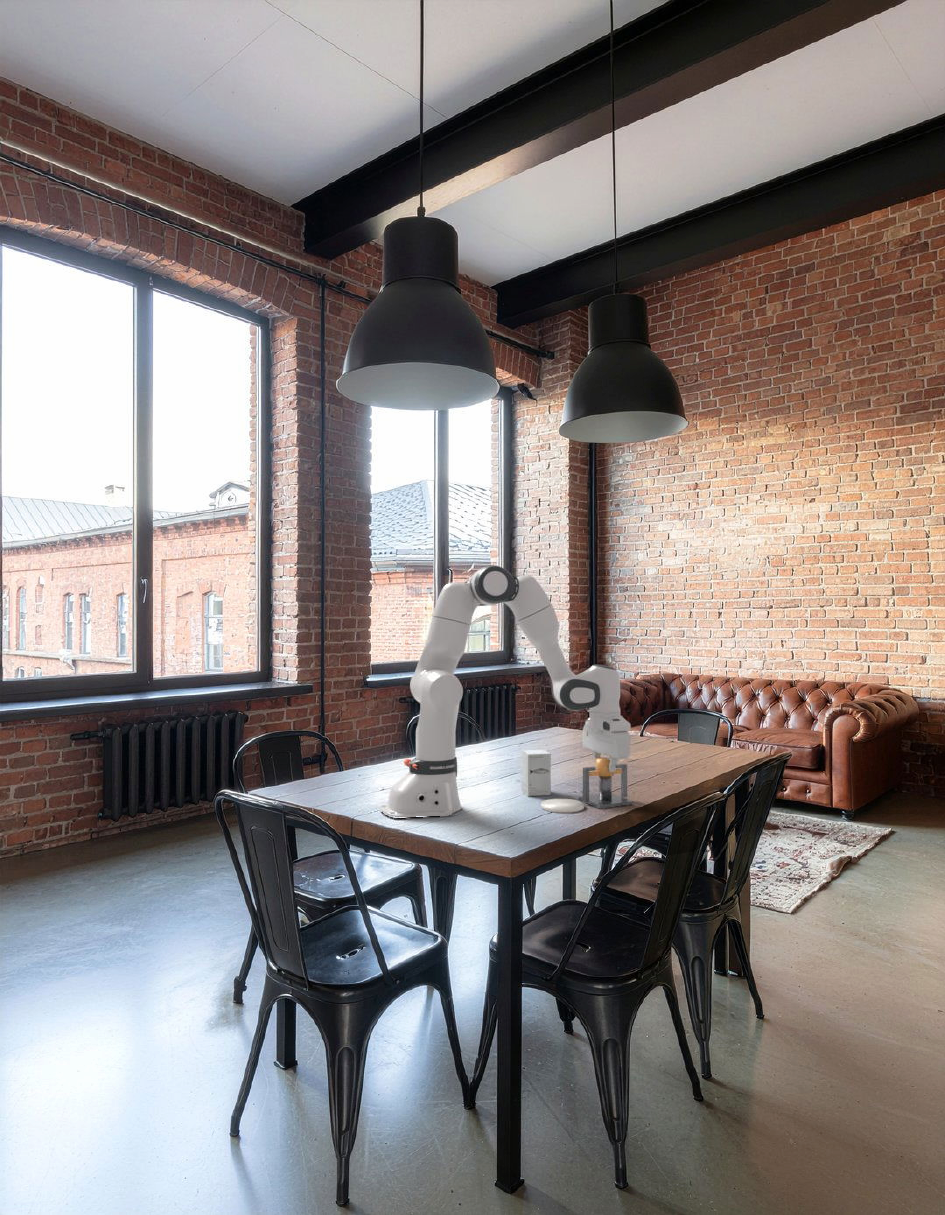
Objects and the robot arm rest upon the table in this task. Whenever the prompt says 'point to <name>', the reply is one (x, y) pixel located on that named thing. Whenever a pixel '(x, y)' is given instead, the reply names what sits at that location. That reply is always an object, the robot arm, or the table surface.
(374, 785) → the table surface
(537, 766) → the supplement box
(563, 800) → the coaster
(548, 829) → the table surface
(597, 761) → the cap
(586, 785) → the grey display stand
